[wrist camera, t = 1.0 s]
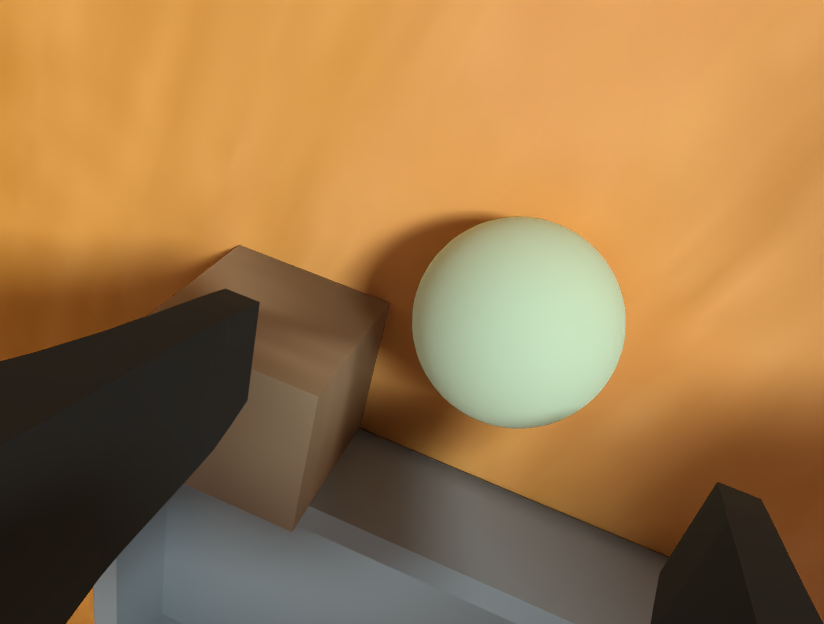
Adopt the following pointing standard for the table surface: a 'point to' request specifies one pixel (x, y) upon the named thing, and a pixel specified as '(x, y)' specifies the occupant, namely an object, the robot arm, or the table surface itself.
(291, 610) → the serving tray
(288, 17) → the table surface
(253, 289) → the walnut cube
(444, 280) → the green ball
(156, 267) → the table surface
